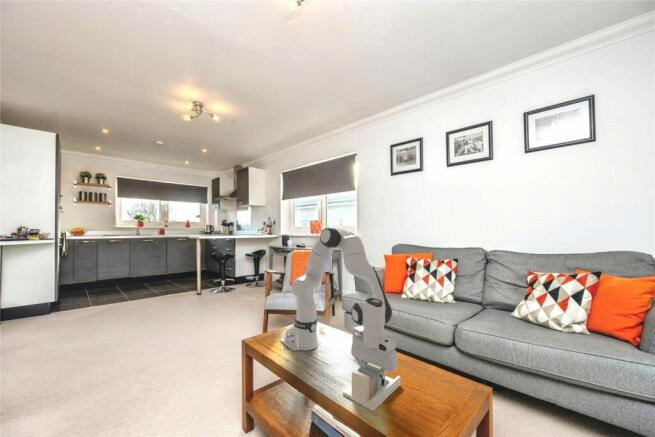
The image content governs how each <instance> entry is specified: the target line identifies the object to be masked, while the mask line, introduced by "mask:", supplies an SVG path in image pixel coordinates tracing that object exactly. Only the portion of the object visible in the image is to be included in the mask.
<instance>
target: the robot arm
mask: <svg viewBox="0 0 655 437" xmlns="http://www.w3.org/2000/svg"><path fill="white" fill-rule="evenodd" d="M335 250H336V251H342V255H343V264H344V267H345V270H346V271H347V272H348V274H350V275H352V276H354V277H357V278H359V279H362V280H364V281H365V282H367V284H368V285H369V287H370V289H371V292H372V296H373V297H368V298H366V299H365V300H364V301H358V302H355V303H354V304H353V305H352V307H351V310H350V312H351V320H352V321H353V322H354V323H355V324H356V325H358V326H363V327H364V329H363V336H362V335H359V334H354V335H353V334H352V343H351V348H350V349H351V350H350V353H351V356H353V357H355V358H357V359H358V362H359V364H360V367H363V368H364V366H365V365H366V364H365V362H367V363H371V364H374V365H376V366H379V367H381V368H382V370H383V372H381V373H380V378H382V379H384V378H385V376H386V374H387V372H391V373H393V372H394V371H396V370H397V369H398V366H399V365H398V361H399V360H398V352H397V351H396V347H397V344H396V342H395V341H394V340H392V339H391V338H389V337H388V336H387V335H386V332H385V329H384V328H385V325H386V324H388V323H389V322H390V321H391V319H392V316H393V309H392V307H391V306H392V305H391V304H390V302H389V300H388V299H387V296H386V293H385V290H384V287H383V285H382V282H381V279H380V277H379V274H378V273H377V269H376V268H374V267H373V266H372V265H371V264H370V262H369V260H368V258H367V254H366V249H365V246H364V244H363V241H362V239H361V238H360V236H358V235H355V234H354V233H353V232H351V231H348V230H345V229H342V228H337V227H333V226H329V227H328V226H327V227H325V228H324V229H323V230H322V231H321V233H320V236H319V237H318V238H317V240H316V242H315V243H314V244H313V247H312V249H311V251H310V254H309V255H308V258H307V260H306V269H305V272H304V274H303V275H301V276H299V277H297V278H295V279H294V280H293V282H292V284H291V289H290V290H291V293H292V295H294V298H295V303H296V304H295V305H296V317H295V318H294V319H293V322H294V323H293V325H291V326H290V327H289V328H287V329H286V330H285V334H284V336H283V337H281V338H280V342H281V343H282V344H284V345H285V346H287V347H288V348H289V349H290V350H291V351H295V352H296V351H311V350H315V349H317V347H318V346H319V342H318V341H319V339H318V334H317V333H318V332H317V330H318V329H317V326H318V319H317V304H316V303H315V297H314V293H315V292H317V291H318V290H319V289H320V287H321V286H322V283H323V277H324V274H325V270H326V269H327V266H328V264H329V261H330V259H331V256H332V254H333V252H334V251H335Z"/></svg>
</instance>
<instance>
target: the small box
mask: <svg viewBox="0 0 655 437" xmlns="http://www.w3.org/2000/svg"><path fill="white" fill-rule="evenodd" d="M363 329H364V327H363V326H362V325H358V326H355V327H352V336H353V335H354V334H359V335H362V336H363Z"/></svg>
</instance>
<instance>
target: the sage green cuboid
mask: <svg viewBox="0 0 655 437" xmlns="http://www.w3.org/2000/svg"><path fill="white" fill-rule="evenodd" d="M364 368H365V369H367V370H370V371H372V372H374V373H376V392H377V391H378V390H379V389H380V388H381V381H382V378H380V373H381V372H382V368H381V367H379V366H376V365H374V364H371V363H369V362H367V363H366V364H365V366H364Z"/></svg>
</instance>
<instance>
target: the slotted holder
mask: <svg viewBox="0 0 655 437" xmlns="http://www.w3.org/2000/svg"><path fill="white" fill-rule="evenodd" d="M382 372H383V370H382ZM400 386H401V376H400V375H397V376H395V378H392V377H390V376H388V375H387V376H386V375H385V378H384V379H382V381H381V388H380V389H379V390H378V391H377V392H376V373H374V372H372V371H370V370H367V369H365V368H363V367H361V366H360V367H359V368H358V369H357V370H356V369H354V370H353V371H352V372H351V385H349V386H347V387H346V388H345V389H344V390H342V395H343V396H344V397H347V398H348V399H350V400H352V401H354V402H355V403H357V404H359V405H361V406H363V407H364V408H366V409H369V410H370V411H372V412H374V411H375V410H376V409H378V407H380V405H382V403H384V402H385V401H386V400H387V398H389V397H390V396H391V395H392V394H393V393H394V392H395V391H396V390H397V389H398V388H399V387H400Z"/></svg>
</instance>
